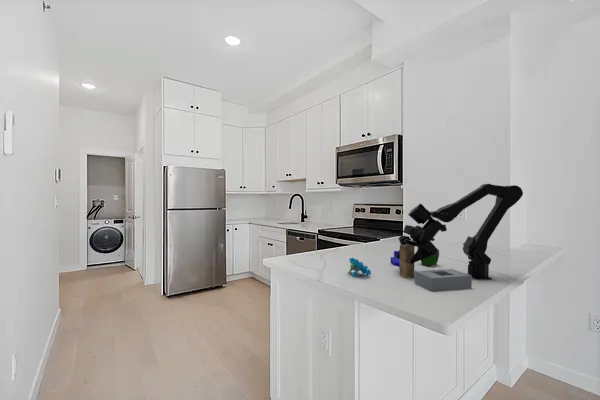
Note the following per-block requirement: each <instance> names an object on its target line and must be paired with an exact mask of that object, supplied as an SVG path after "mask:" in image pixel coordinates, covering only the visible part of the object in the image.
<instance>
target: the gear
mask: <svg viewBox="0 0 600 400" xmlns="http://www.w3.org/2000/svg"><path fill="white" fill-rule="evenodd" d="M348 260H349V262H350V265H349V267H350V269H349V271H347V273H348V274H349V275H350V274H351V272H352V271H354V272H353V273H352V275H351V276H352V277H353V278H354V277H355V276H356V275H357V274H358V272H361V274H365V275H366V276H368V275H369V276H371V274H372V272H371V269H369V267H368V266H367V265H364V262H362V261H359V259H358V258H354V257H350V258H349V259H348Z"/></svg>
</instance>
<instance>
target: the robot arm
mask: <svg viewBox="0 0 600 400" xmlns="http://www.w3.org/2000/svg"><path fill="white" fill-rule="evenodd" d="M488 195H490V196H494V197H495V204H494V206H493V207H492V209H491V210H490V211H489V214H488V215H487V217H486V218H485V219H484V221H483V223H482V224H481V225H480V227H479V229H478V231H477V232H476V234H475V235H473V236H472V237H471V236H470V235H469V236H467V238H466V240H465V241H464V242H463V244H462V245H463V246H462V251H463V254H464V255H466V257H467V259H468V260H469V261H468V265H467V274H469V275H472V279H475V280H492V277H491V276H489V271H490V270H489V267H490V264H491V262H492V258H491V257H490V256H489V255H487V254H486V251H487V249H488V248H487V247H488V242H489V239H490V238H491V237H492V235H493V233H494V231H495V230H496V229H497V227H498V225H499V224H500V222H501V220H502V219H503V217H504V215H506V213H507V212H508V210H509V209H511V208H512V207H513V206H514V205H516V204H517V202H519V201H520V200H521V198H522V197H523V196H524V192H523V189H522V188H521V187H520V186H519V185H516V184H515V185H512V184H511V185H497V184H491V183H485V184H484V183H483V184H481V185H480V186H479V187H477V188H476V189H474V190H472V191H471V192H469V193H468V194H466V195H464V196H463V197H461V198H460V199H458V200H456V201H455V202H453V203H449V204H446V205H444V206H441V207H439V208H438V209H437V210H434V211H432V210H431V211H429V210H428V209H427V208H426V207H425V206H424V205H423V204H422V203H419V204H418V205H417V206H415V207H414V208H412V209H411V210H410V212H409V213H408V216H409V217H410V218H411V219H412V220H413V221H415V222H416V224H418V225H415V226H412V225H409V224H405V226H404V229H403V231H402V233H404V234H407V235H400V236H399V237H398V240H399V241H398V242H399V243H400V245H412V246H415V247H417V249H416V251H415V252H414V256H413V257H412V259H411V260H410V263H411V264H412V263H414V264H415V263H417V262H419V261H420V262H421V260H422V259H425V258H428V257H432V256H436V254H437V253H438V250H439V248H437V247H436V246H435V244H434V243H433V242H434V241H435V238H434V237H436V236H437V234H438V233H439V232H441V233H442V232H447V230H448V229H447V224H442V223H441V222H443V223H451V222H452V221H453V220H455V218H457V217H458V216H459V214H461V212H463V211H464V210H465V209H468V207H470V206H472V205H473V204H475V203H476V202H479V200H482V199H483V198H485V197H486V196H488ZM420 225H423V226H420ZM398 251H399V252H398V255H397V258H398V259H399V258H400V249H399V250H398Z"/></svg>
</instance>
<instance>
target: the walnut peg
mask: <svg viewBox="0 0 600 400" xmlns="http://www.w3.org/2000/svg"><path fill="white" fill-rule="evenodd" d="M415 247H416V246H412V245H401V244H400V245H399V250H400V267H399V277H401V278H404V279H415V263H412V264H411V263H410V260H411V259H412V257H413V256H414V254H415Z"/></svg>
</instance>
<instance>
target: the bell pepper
mask: <svg viewBox="0 0 600 400" xmlns="http://www.w3.org/2000/svg"><path fill="white" fill-rule="evenodd" d="M439 258H440V250H439V249H438V253H437V254H436V256H432V257H428V258H425V259H422V260H420V262H421V264H422V265H424V266H428V267H434V266H436V265H437V264H438V262H439Z"/></svg>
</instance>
